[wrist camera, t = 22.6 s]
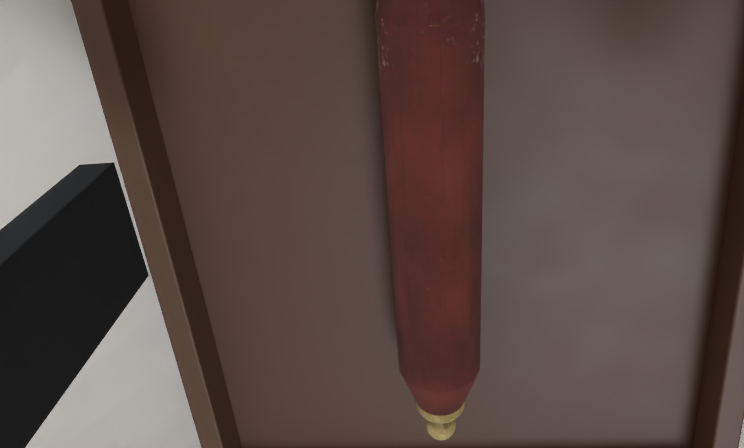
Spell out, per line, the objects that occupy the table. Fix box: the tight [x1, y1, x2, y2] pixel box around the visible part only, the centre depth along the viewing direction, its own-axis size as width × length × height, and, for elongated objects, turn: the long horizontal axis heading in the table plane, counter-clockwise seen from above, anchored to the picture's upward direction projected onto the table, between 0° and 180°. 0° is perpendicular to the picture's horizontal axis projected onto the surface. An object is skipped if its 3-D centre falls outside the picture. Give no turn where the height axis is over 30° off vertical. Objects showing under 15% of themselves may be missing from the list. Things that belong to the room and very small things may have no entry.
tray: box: [71, 0, 744, 448], centre depth 18 cm, size 27×18×2 cm, turn 6°
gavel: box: [375, 0, 485, 440], centre depth 17 cm, size 21×5×10 cm
